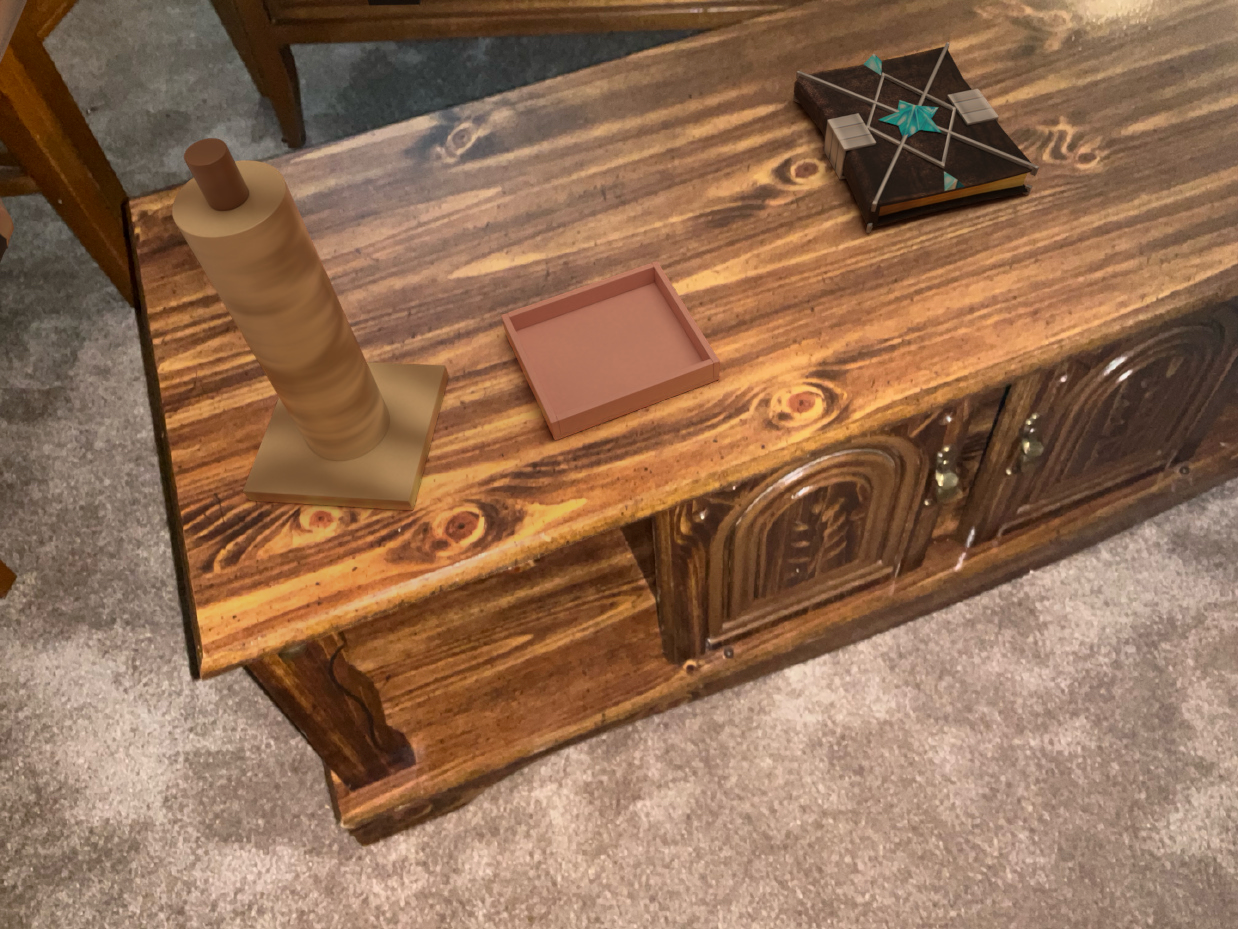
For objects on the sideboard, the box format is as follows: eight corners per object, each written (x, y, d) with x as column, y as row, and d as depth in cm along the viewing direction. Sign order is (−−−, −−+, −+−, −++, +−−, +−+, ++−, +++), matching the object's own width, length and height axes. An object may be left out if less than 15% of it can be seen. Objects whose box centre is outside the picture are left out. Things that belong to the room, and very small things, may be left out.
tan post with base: (413, 510, 77) (280, 235, 53) (249, 501, 79) (47, 229, 55) (449, 375, 85) (347, 80, 61) (299, 369, 87) (141, 79, 62)
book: (791, 100, 103) (795, 58, 99) (940, 69, 104) (950, 26, 100) (865, 235, 91) (873, 193, 87) (1033, 199, 92) (1049, 156, 88)
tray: (555, 440, 80) (551, 423, 78) (505, 333, 87) (500, 314, 85) (719, 379, 83) (720, 360, 81) (658, 279, 90) (657, 260, 88)
